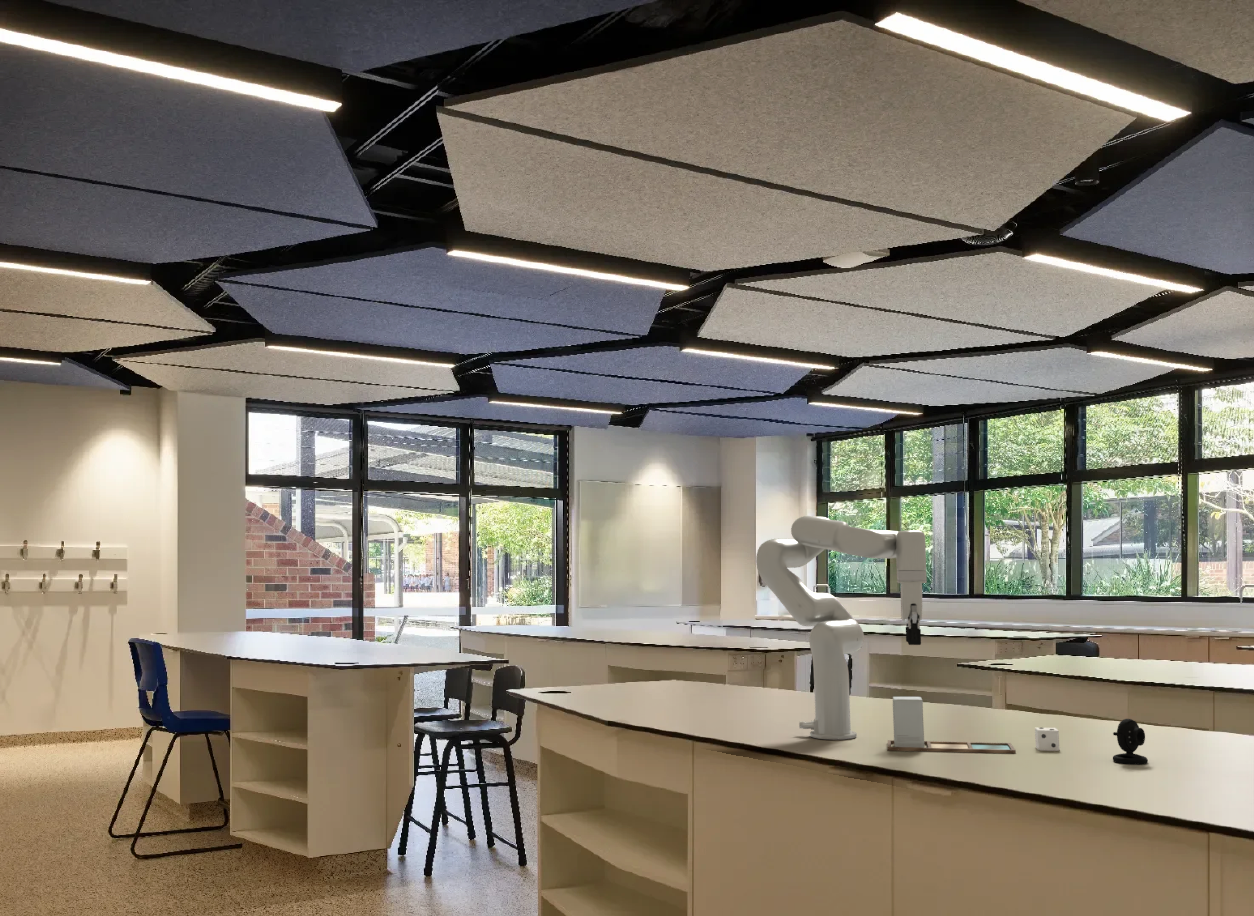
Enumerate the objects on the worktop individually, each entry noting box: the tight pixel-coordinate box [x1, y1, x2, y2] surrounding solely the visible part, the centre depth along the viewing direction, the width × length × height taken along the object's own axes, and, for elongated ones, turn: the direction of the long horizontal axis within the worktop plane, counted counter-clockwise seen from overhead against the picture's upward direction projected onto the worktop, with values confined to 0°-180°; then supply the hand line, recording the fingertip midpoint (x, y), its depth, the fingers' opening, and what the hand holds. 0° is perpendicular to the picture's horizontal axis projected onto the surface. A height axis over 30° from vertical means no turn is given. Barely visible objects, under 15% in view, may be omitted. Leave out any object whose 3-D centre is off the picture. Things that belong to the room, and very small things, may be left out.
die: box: [1034, 726, 1061, 752], centre depth 275 cm, size 5×5×5 cm
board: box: [887, 739, 1017, 755], centre depth 277 cm, size 31×12×1 cm, turn 77°
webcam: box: [1112, 718, 1149, 766], centre depth 255 cm, size 8×8×10 cm
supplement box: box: [892, 696, 925, 748], centre depth 280 cm, size 7×7×13 cm
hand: (913, 643), depth 283 cm, fingers open, 9 cm apart
